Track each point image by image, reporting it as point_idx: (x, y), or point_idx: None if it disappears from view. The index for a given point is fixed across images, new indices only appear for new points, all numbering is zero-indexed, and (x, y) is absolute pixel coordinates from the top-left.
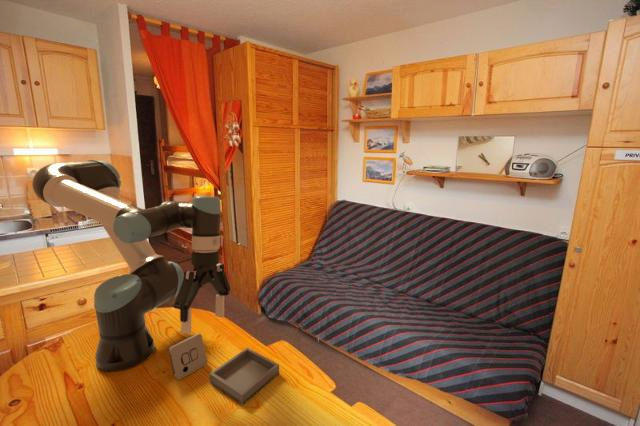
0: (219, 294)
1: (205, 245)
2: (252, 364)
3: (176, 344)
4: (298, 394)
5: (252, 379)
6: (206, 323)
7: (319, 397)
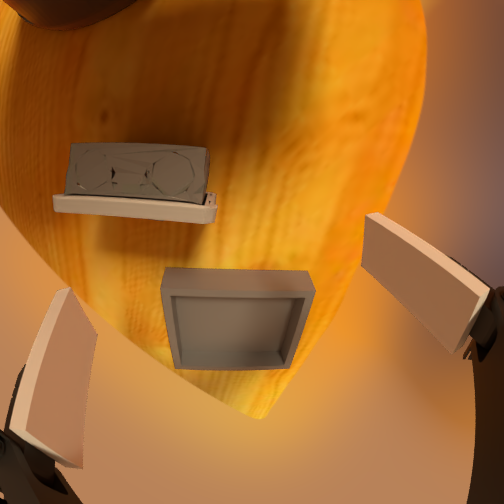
0: (483, 310)
1: None
2: (278, 309)
3: (78, 203)
4: (256, 383)
5: (234, 337)
6: (391, 26)
7: (267, 397)
